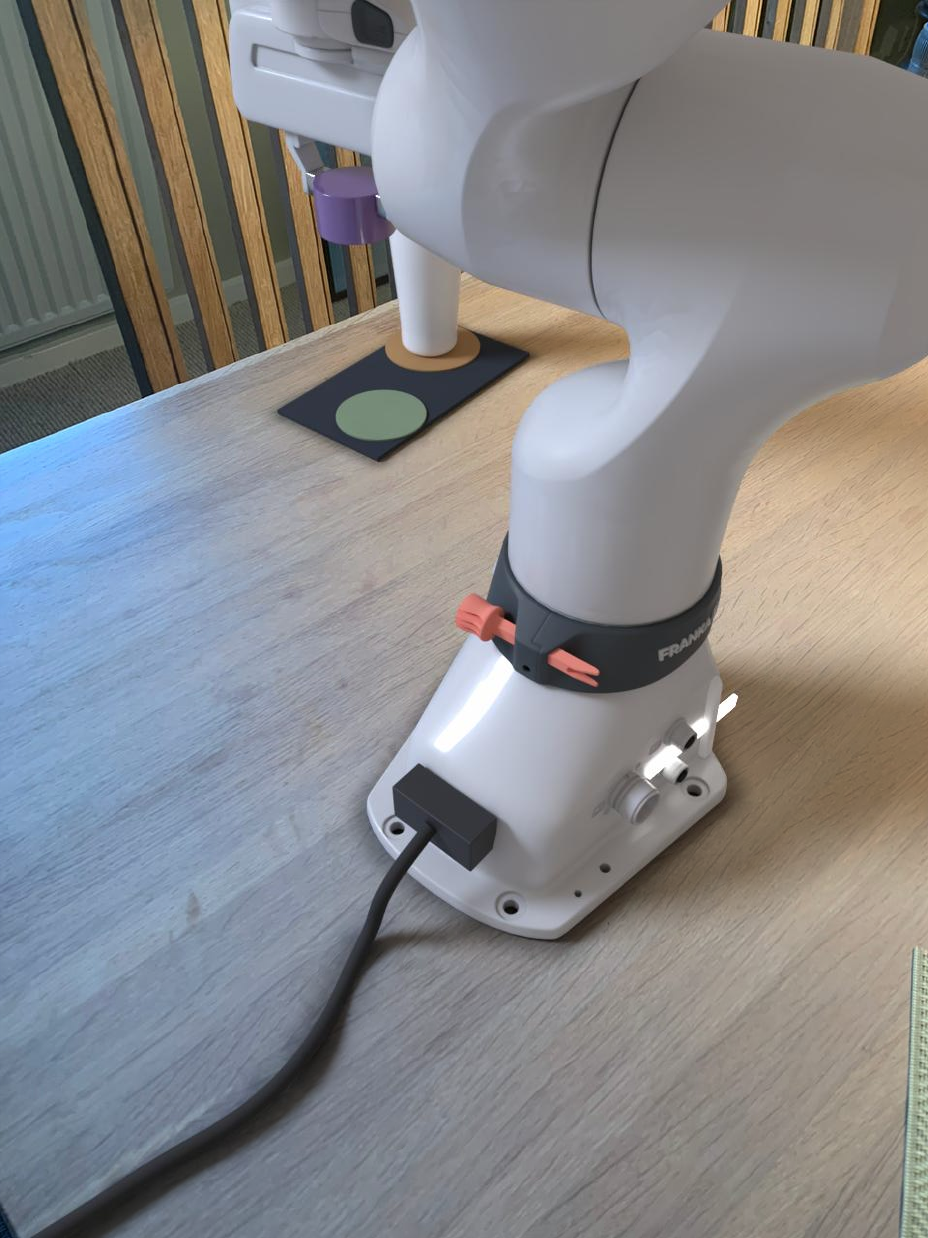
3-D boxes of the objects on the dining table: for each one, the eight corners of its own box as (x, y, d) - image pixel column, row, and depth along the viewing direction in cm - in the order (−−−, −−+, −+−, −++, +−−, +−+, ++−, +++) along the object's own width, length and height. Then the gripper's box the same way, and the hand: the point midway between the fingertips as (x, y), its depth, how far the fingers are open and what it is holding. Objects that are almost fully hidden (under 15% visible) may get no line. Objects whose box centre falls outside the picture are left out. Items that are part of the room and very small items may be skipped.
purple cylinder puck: (359, 252, 72) (355, 204, 70) (300, 231, 75) (294, 184, 72) (413, 224, 75) (410, 177, 73) (354, 205, 78) (350, 159, 76)
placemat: (377, 461, 83) (377, 456, 83) (272, 411, 89) (271, 405, 88) (529, 356, 96) (530, 350, 95) (429, 317, 101) (429, 312, 101)
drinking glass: (456, 366, 93) (455, 205, 83) (387, 359, 94) (376, 199, 84) (471, 331, 98) (471, 175, 87) (404, 324, 99) (397, 169, 88)
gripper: (192, -23, 67) (228, 186, 77) (426, 27, 58) (433, 257, 68) (260, -41, 70) (286, 161, 80) (491, 4, 61) (488, 225, 71)
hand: (355, 205), depth 74 cm, fingers closed on purple cylinder puck, 6 cm apart
